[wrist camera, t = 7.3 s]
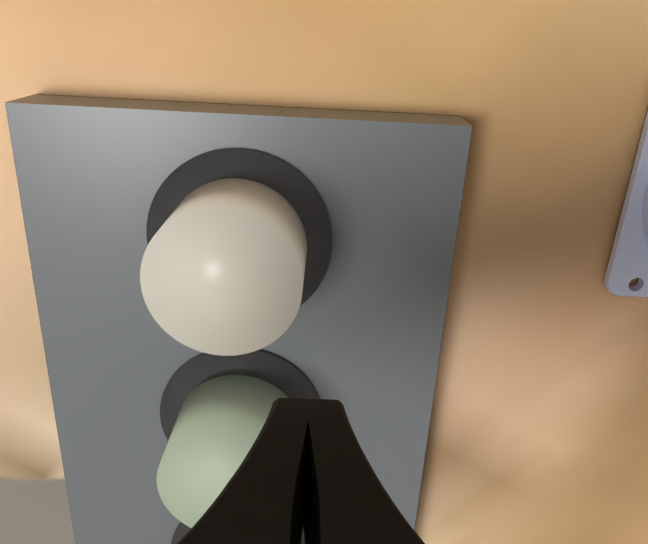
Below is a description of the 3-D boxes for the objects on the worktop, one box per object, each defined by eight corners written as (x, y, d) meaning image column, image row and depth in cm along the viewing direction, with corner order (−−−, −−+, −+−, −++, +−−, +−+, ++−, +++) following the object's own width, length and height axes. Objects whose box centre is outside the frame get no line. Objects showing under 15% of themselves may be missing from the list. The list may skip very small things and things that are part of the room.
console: (459, 115, 20) (473, 127, 18) (396, 586, 28) (400, 630, 26) (35, 94, 20) (1, 103, 18) (102, 572, 28) (84, 616, 26)
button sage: (301, 378, 21) (297, 433, 18) (298, 476, 23) (293, 540, 20) (176, 371, 21) (151, 426, 18) (181, 470, 23) (160, 534, 20)
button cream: (309, 181, 18) (305, 211, 15) (304, 311, 20) (300, 359, 17) (164, 174, 18) (133, 203, 15) (172, 304, 20) (145, 351, 17)
